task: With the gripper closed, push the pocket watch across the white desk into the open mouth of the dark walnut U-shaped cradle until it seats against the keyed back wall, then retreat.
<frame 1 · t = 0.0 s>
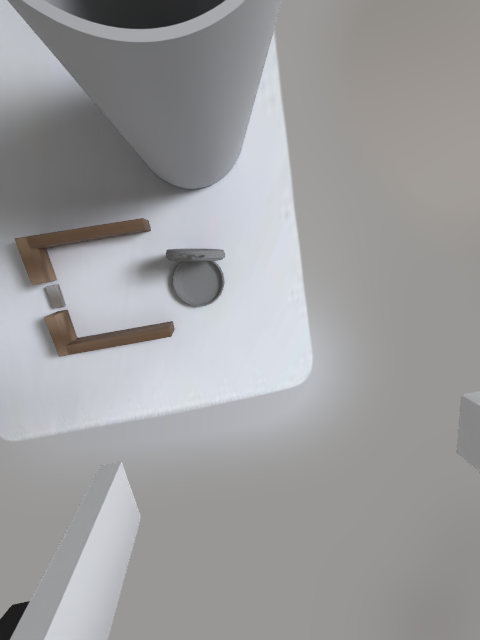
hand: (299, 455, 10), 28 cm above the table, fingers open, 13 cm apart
pocket watch: (200, 271, 36), on the table
cradle: (108, 287, 35), on the table
cylinder vase: (189, 132, 31), on the table
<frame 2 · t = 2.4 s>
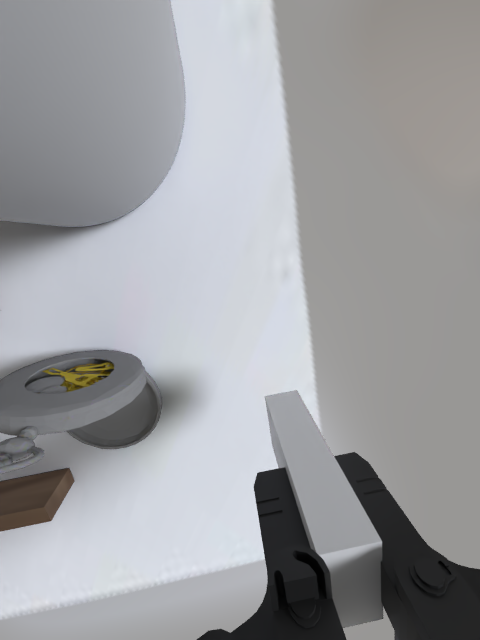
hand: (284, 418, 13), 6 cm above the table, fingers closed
pocket watch: (115, 381, 18), on the table
cylinder vase: (62, 97, 14), on the table
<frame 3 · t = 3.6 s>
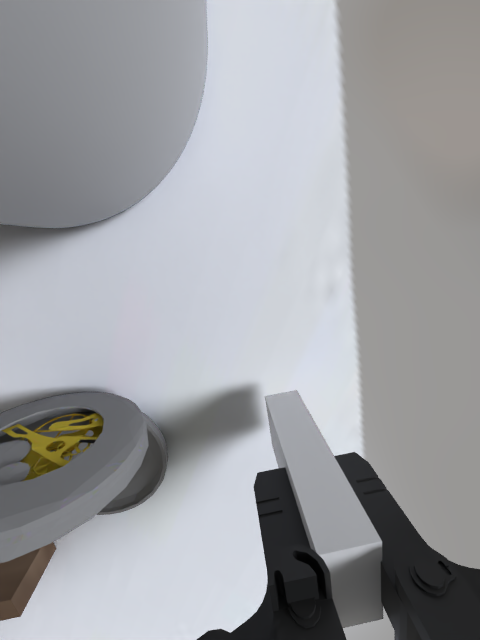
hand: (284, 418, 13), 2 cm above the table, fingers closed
pocket watch: (108, 427, 14), on the table
cylinder vase: (36, 49, 10), on the table
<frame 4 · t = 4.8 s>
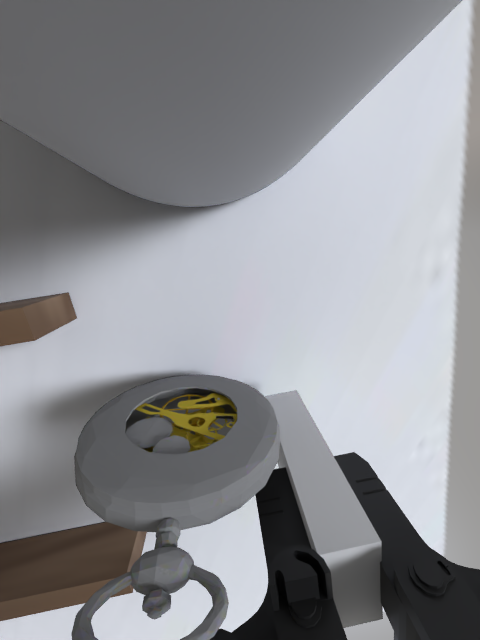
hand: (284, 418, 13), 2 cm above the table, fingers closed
pocket watch: (198, 411, 14), on the table, touching gripper
cylinder vase: (185, 31, 10), on the table
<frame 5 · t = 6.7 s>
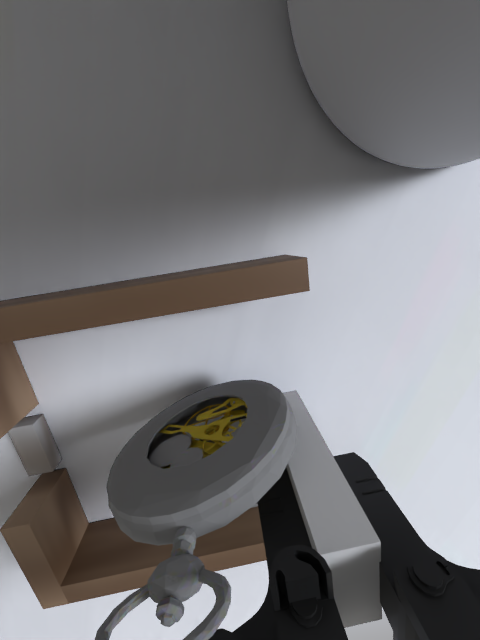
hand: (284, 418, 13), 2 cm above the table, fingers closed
pocket watch: (235, 420, 14), on the table, touching gripper
cradle: (169, 415, 14), on the table
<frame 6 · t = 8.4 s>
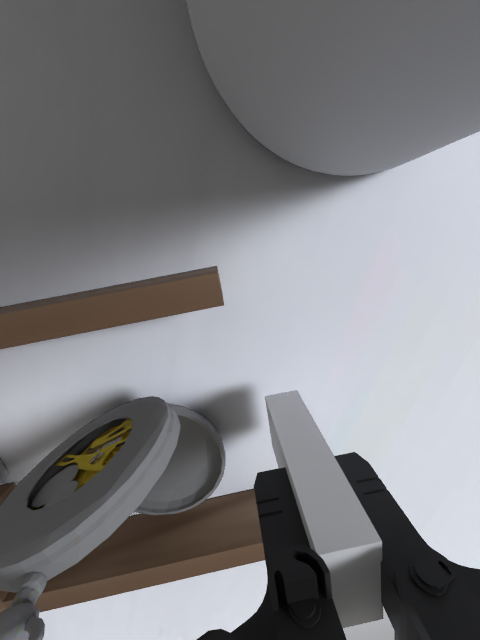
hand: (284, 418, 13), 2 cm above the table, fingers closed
pocket watch: (156, 432, 15), on the table
cradle: (113, 428, 14), on the table
cylinder vase: (349, 2, 10), on the table
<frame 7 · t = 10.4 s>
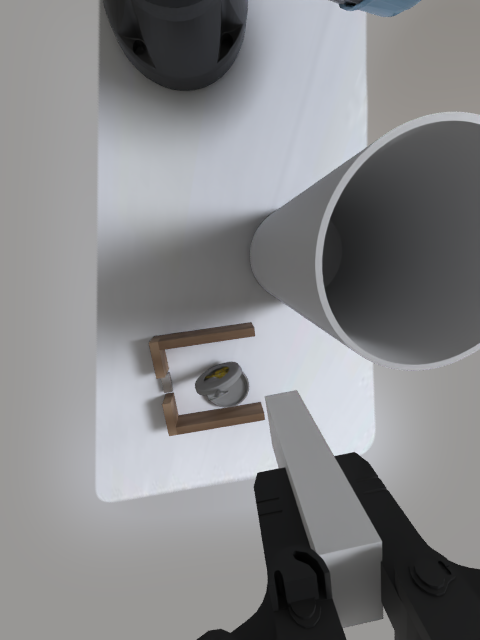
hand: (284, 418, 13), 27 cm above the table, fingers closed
pocket watch: (224, 377, 41), on the table
cradle: (211, 374, 41), on the table
cylinder vase: (292, 254, 38), on the table
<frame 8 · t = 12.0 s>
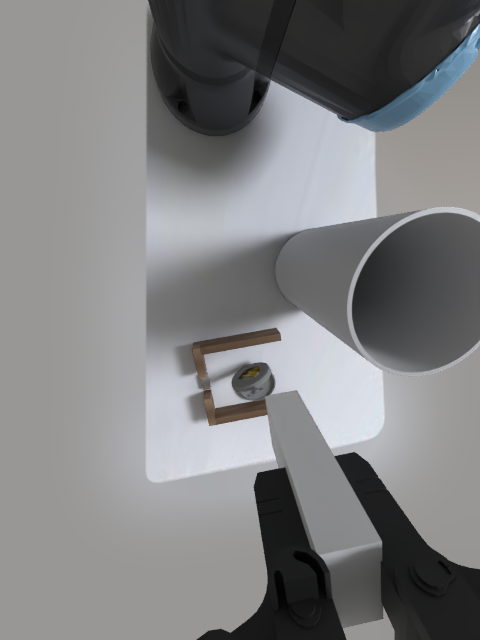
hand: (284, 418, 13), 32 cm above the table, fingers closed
pocket watch: (254, 375, 48), on the table
cradle: (242, 373, 47), on the table
cylinder vase: (311, 269, 44), on the table
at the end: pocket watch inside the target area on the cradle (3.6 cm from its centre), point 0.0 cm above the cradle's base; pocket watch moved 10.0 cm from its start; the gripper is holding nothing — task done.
